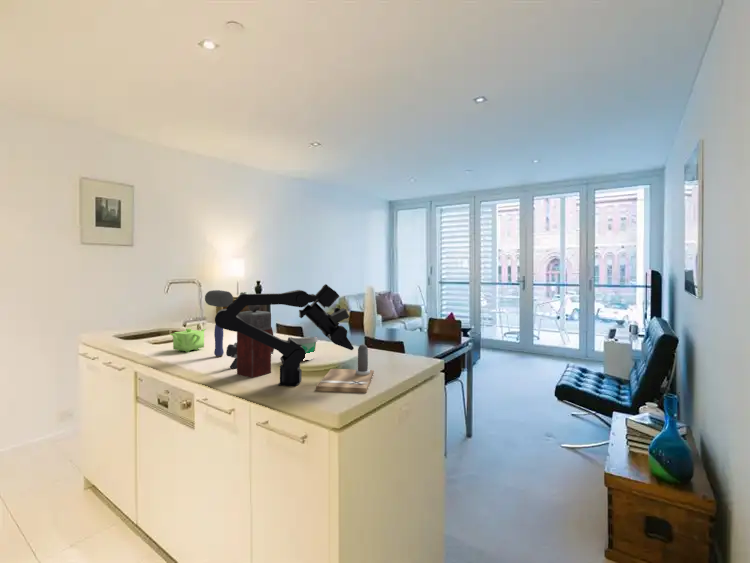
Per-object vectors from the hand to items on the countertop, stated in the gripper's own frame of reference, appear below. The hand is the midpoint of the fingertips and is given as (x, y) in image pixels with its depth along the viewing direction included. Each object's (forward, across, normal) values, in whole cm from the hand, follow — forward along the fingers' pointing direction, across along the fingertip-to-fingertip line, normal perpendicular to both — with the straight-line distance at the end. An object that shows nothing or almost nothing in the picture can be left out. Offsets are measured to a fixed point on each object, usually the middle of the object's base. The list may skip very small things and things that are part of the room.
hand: (349, 346), depth 141 cm
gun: (-16, +33, +32) cm, 49 cm away
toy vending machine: (-14, +17, +31) cm, 38 cm away
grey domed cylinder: (+11, 0, +4) cm, 11 cm away
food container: (0, +34, +17) cm, 38 cm away
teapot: (-36, +70, +53) cm, 95 cm away
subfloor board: (+7, -4, +10) cm, 12 cm away
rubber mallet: (-26, +51, +42) cm, 71 cm away
